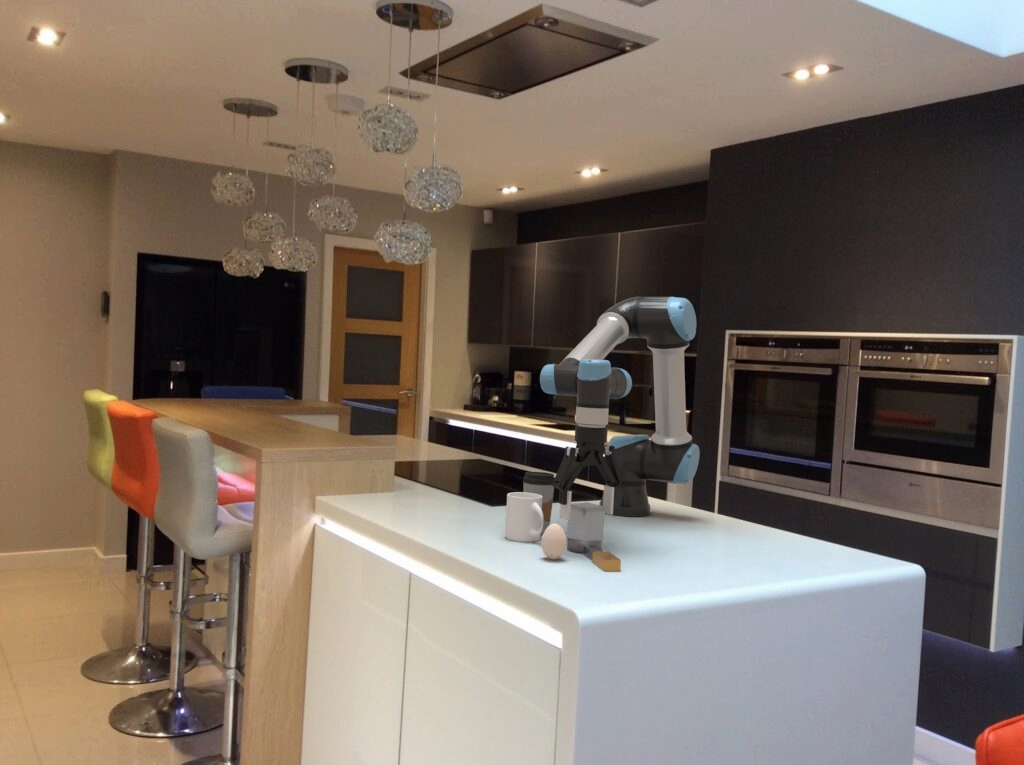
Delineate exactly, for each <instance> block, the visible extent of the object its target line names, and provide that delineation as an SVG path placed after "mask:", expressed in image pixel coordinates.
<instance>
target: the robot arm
mask: <svg viewBox="0 0 1024 765" xmlns="http://www.w3.org/2000/svg"><path fill="white" fill-rule="evenodd" d="M696 333H697V316H696V312H695V309H694V306H693V304H692V303H691V301H690V300H689V299H687V298H686V297H677V296H676V297H675V296H633V297H629V298H626V299H624V300H622V301H619V302H618V303H616V304H614V305H612V306H610V307H609V308H607V310H605V311H604V312H602V314H601V315H600V316H599V317H598V319H597V321H596V326H594V327H593V329H592V330H591V331H590V332H589V333H588V334H587V335H586V336H585V337H584V338H583V339H582V340H581V341H580V342H579V343H578V344H577V345H576V346H575V348H573V349H572V350H571V351H570V352H569V353H568V354H567V355H566V356H565V357H564V359H563V360H562V361H561V362H559V364H556V363H552V364H551V363H550V364H546V365H544V366H543V367H542V369H541V371H540V375H539V384H540V388H541V390H542V392H544V393H545V394H549V395H555V396H567V397H570V396H571V397H576V409H575V410H576V411H575V424H577V425H576V426H575V427H574V441H575V443H576V445H575V447H573V446H568V445H567V446H565V448H564V454H563V458H562V460H561V462H560V465H559V467H558V470H557V472H556V474H555V476H554V481H553V484H552V486H553V487H554V488H556V489H557V490H558V491H559V493H558V503H559V504H560V505H559V506H560V508H559V518H560V519H563V520H567V521H568V520H569V519H570V513H571V504H572V490H570V489H571V487H572V485H573V484H574V482H575V481H576V479H577V478H578V477H579V474H580V473H581V472H582V471H583V470H584V469H585V468H586V467H590V466H591V467H592V466H596V468H597V470H598V472H599V474H600V475H601V477H602V479H603V480H604V481H605V483H606V485H604V486H603V493H602V497H601V500H600V501H599V504H598V505H600V506H604V507H605V515H614V516H622V517H647V516H649V515H650V514H651V505H650V504H649V503H650V502H649V496H648V493H647V481H655V482H663V483H671V484H679V485H680V484H683V485H687V484H689V483H691V481H693V479H694V477H695V475H696V473H697V471H698V466H699V462H700V457H701V456H700V453H701V452H700V447H699V445H697V444H696V443H693V437H692V435H691V434H690V433H689V432H688V431H687V408H686V407H687V406H686V380H685V376H686V374H685V350H686V349H687V348H688V347H689V346H690V341H692V340H693V339H694V338H695V336H696ZM627 339H646V345H647V346H646V347H647V348H648V349H649V350H650V351H651V352H652V361H653V362H652V364H653V365H652V366H653V390H654V391H653V392H654V394H653V395H654V412H655V414H654V416H655V417H654V418H655V432H654V433H653V434H652V435H651V436H650V435H648V434H629V435H628V434H626V435H614V436H612V437H611V438H610V439H609V443H608V444H607V442H608V431H609V430H608V427H606V426H607V425H609V412H610V410H609V407H610V400H611V399H612V400H618V399H621V398H624V397H626V396H627V395H628V394H629V393H630V391H631V389H632V386H633V381H632V377H631V375H630V373H629V372H628V371H627V370H625V369H623V368H619V367H614V366H613V367H612V366H611V365H612V364H611V362H610V361H609V360H607V359H605V358H606V357H607V356H608V354H610V352H611V351H612V350H614V349H615V347H616V346H617V345H619V344H622V343H624V342H625V341H626V340H627Z"/></svg>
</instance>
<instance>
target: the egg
mask: <svg viewBox="0 0 1024 765" xmlns="http://www.w3.org/2000/svg"><path fill="white" fill-rule="evenodd" d="M541 549H542V552H543V554H544V556H545V557H547V559H549V560H557V559H560V558H561V557H562V556H563V554H565V553H566V552H565V551H566V550H567V534H566V533H565V531H564V528H563V527H562V526H561V525H560V524H559V523H552V524H550V525H549V526H548V527H547V529H546V530H545V532H544V534H543V535H541Z"/></svg>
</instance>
